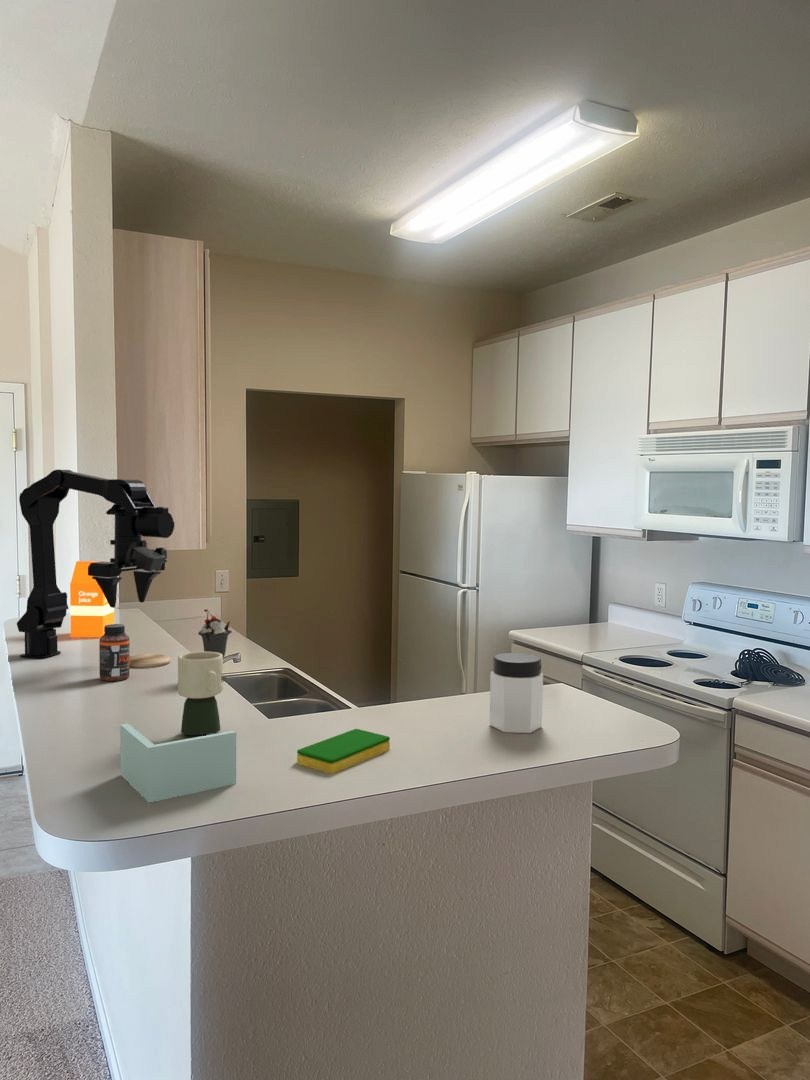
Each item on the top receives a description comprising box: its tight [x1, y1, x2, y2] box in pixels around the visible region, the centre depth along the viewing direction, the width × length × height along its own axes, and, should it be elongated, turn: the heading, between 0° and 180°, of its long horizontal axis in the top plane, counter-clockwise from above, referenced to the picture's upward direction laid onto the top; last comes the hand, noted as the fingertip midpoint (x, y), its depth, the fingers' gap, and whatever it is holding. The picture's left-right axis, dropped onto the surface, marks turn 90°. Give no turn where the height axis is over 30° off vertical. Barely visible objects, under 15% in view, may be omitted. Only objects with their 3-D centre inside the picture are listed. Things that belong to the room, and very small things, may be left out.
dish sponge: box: [296, 728, 391, 774], centre depth 120 cm, size 7×14×2 cm, turn 143°
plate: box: [129, 653, 171, 669], centre depth 181 cm, size 10×10×1 cm
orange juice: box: [69, 560, 115, 638], centre depth 213 cm, size 8×9×20 cm
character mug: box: [177, 651, 224, 736], centre depth 130 cm, size 11×7×13 cm, turn 38°
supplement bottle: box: [98, 623, 130, 682], centre depth 166 cm, size 6×6×11 cm
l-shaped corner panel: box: [119, 723, 237, 804], centre depth 110 cm, size 12×12×8 cm
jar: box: [489, 652, 544, 734], centre depth 136 cm, size 9×8×12 cm
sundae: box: [197, 608, 233, 682], centre depth 167 cm, size 7×7×15 cm
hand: (127, 604), depth 179 cm, fingers open, 9 cm apart
